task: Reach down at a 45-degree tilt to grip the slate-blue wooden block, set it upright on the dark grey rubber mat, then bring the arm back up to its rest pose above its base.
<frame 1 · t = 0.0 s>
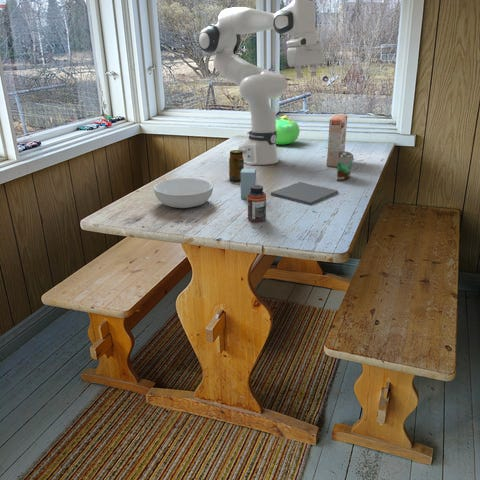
hand: (306, 77, 207), 39 cm above the table, tool pointing down, fingers open, 8 cm apart
condiment: (237, 180, 209), on the table
slate-blue block: (248, 196, 188), on the table
serving bowl: (184, 204, 182), on the table
supplement bottle: (256, 220, 166), on the table
food container: (344, 178, 209), on the table
toy bird: (281, 144, 270), on the table
rubber mat: (304, 194, 190), on the table
cracker box: (335, 163, 231), on the table
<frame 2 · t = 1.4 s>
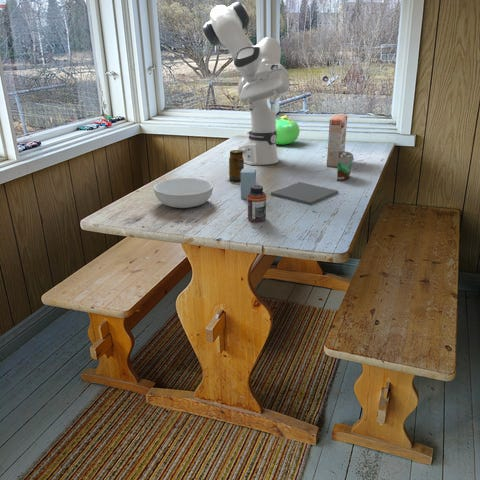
hand: (261, 106, 186), 31 cm above the table, tool tilted 45°, fingers open, 8 cm apart
nothing on the table moved.
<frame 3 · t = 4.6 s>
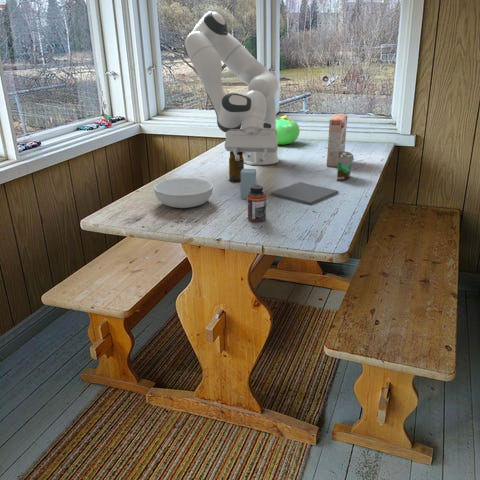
hand: (249, 160, 191), 12 cm above the table, tool tilted 45°, fingers open, 8 cm apart
nothing on the table moved.
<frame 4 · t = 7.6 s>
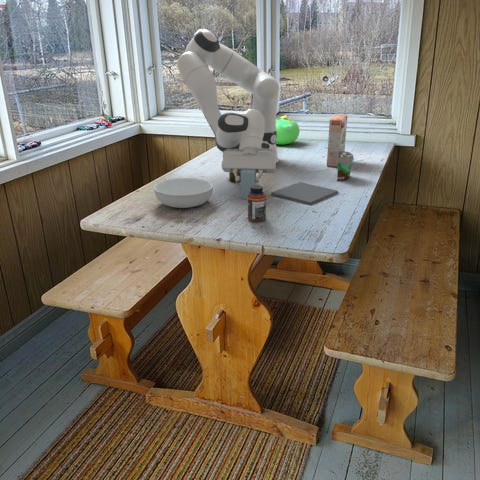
hand: (247, 181, 185), 6 cm above the table, tool tilted 45°, fingers open, 6 cm apart
condiment: (237, 180, 209), on the table, touching arm
slate-blue block: (248, 196, 188), on the table, touching gripper
everything else where it was.
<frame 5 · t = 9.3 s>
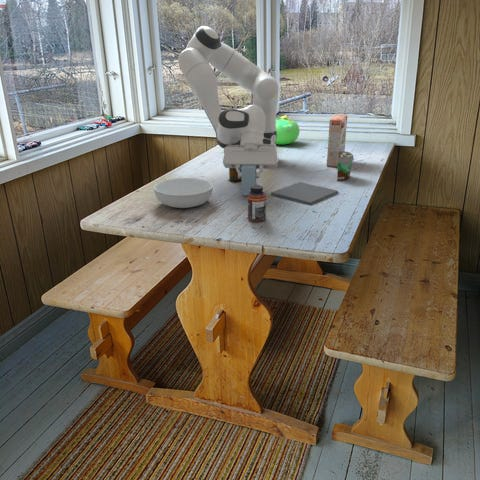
hand: (248, 177, 185), 7 cm above the table, tool tilted 45°, fingers closed on slate-blue block, 5 cm apart
condiment: (237, 180, 209), on the table
slate-blue block: (249, 192, 188), point 2 cm above the table, touching gripper
everything else where it was.
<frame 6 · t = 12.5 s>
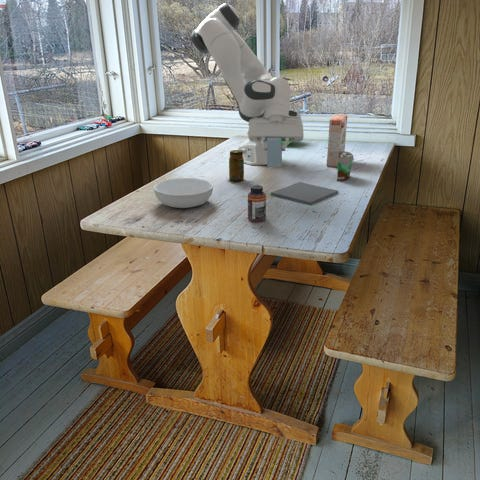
hand: (274, 149, 182), 17 cm above the table, tool tilted 45°, fingers closed on slate-blue block, 5 cm apart
slate-blue block: (274, 165, 185), point 11 cm above the table, touching gripper
everything else where it was.
when the fingers open (8 cm above the table, at t = 16.9 s): slate-blue block stays where it is, resting on rubber mat.
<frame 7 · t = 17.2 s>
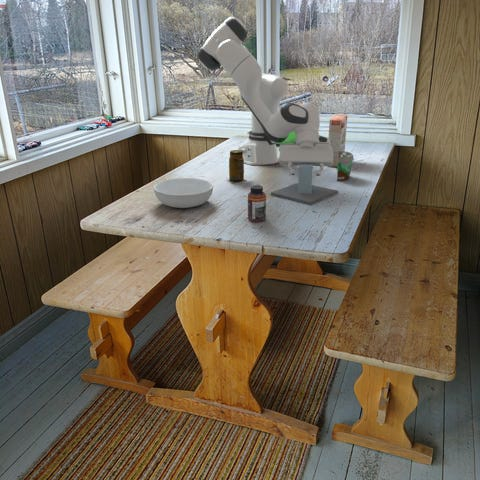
hand: (305, 174, 187), 8 cm above the table, tool tilted 45°, fingers open, 8 cm apart
slate-blue block: (304, 191, 190), point 1 cm above the table, touching rubber mat
everything else where it was.
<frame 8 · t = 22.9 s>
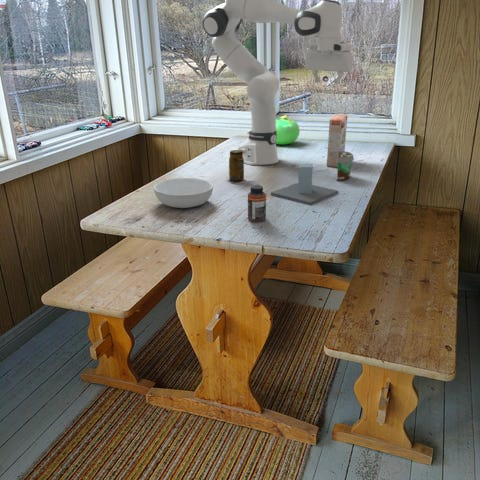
hand: (327, 82, 202), 37 cm above the table, tool pointing down, fingers open, 8 cm apart
nothing on the table moved.
at the end: slate-blue block inside the target area on the rubber mat (0.1 cm from its centre), point 1.0 cm above the rubber mat's base; slate-blue block tilted 0°; the gripper is holding nothing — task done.
